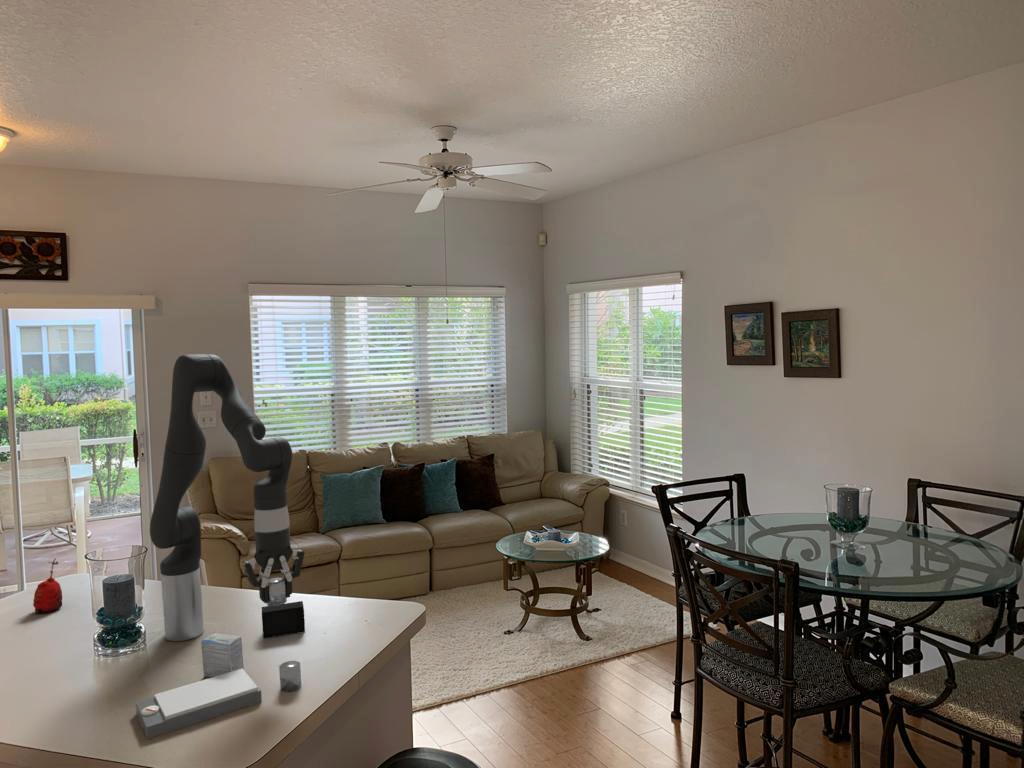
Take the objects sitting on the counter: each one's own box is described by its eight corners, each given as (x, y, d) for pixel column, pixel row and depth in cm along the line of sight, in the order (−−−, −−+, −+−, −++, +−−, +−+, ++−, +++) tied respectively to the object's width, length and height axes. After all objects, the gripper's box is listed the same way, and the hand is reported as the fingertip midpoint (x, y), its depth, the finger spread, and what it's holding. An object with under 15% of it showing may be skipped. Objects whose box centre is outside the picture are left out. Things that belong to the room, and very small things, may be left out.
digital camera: (304, 624, 193) (302, 598, 193) (305, 632, 188) (303, 606, 188) (263, 630, 190) (261, 604, 189) (263, 639, 185) (261, 612, 184)
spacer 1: (263, 601, 166) (262, 580, 166) (282, 597, 169) (281, 576, 168) (270, 607, 162) (268, 586, 162) (289, 602, 165) (288, 581, 165)
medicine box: (244, 672, 167) (242, 635, 166) (231, 681, 163) (228, 644, 162) (217, 668, 169) (214, 632, 169) (203, 677, 165) (200, 640, 165)
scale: (136, 713, 150) (135, 699, 150) (245, 680, 163) (244, 666, 163) (147, 739, 140) (146, 723, 140) (261, 701, 153) (260, 687, 153)
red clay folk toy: (43, 605, 213) (39, 556, 212) (68, 603, 214) (64, 554, 212) (29, 616, 205) (24, 564, 204) (55, 614, 206) (51, 562, 205)
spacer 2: (277, 686, 160) (276, 664, 159) (297, 680, 162) (296, 658, 162) (284, 694, 156) (283, 672, 156) (304, 687, 159) (303, 665, 158)
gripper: (296, 517, 171) (300, 587, 173) (234, 528, 163) (239, 602, 164) (308, 523, 165) (312, 596, 167) (244, 536, 157) (249, 612, 158)
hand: (276, 599), depth 165 cm, fingers closed on spacer 1, 4 cm apart
